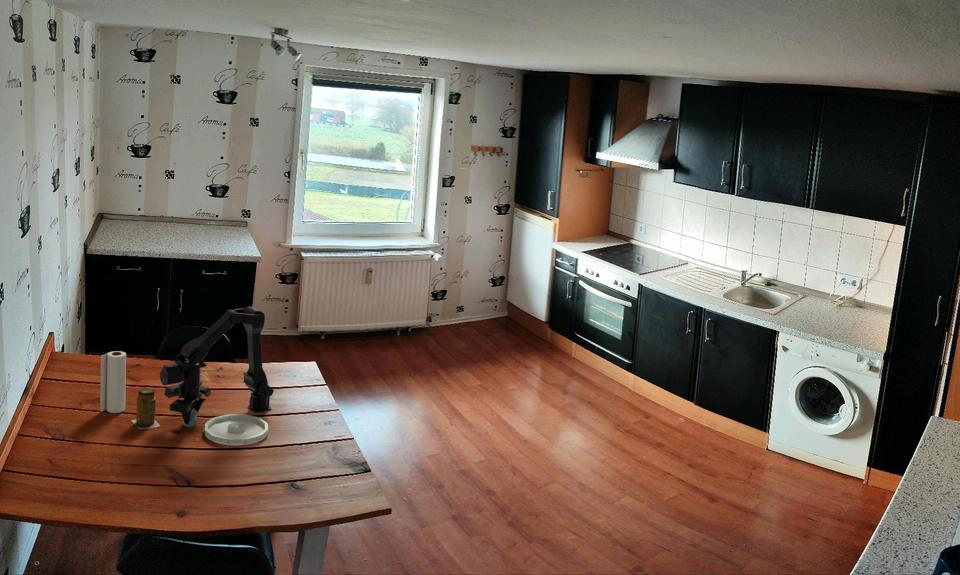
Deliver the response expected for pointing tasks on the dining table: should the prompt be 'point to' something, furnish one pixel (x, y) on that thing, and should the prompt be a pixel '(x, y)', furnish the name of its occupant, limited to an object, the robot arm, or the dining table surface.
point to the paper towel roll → (113, 382)
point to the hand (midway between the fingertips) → (189, 421)
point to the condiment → (145, 409)
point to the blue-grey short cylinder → (192, 420)
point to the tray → (224, 433)
